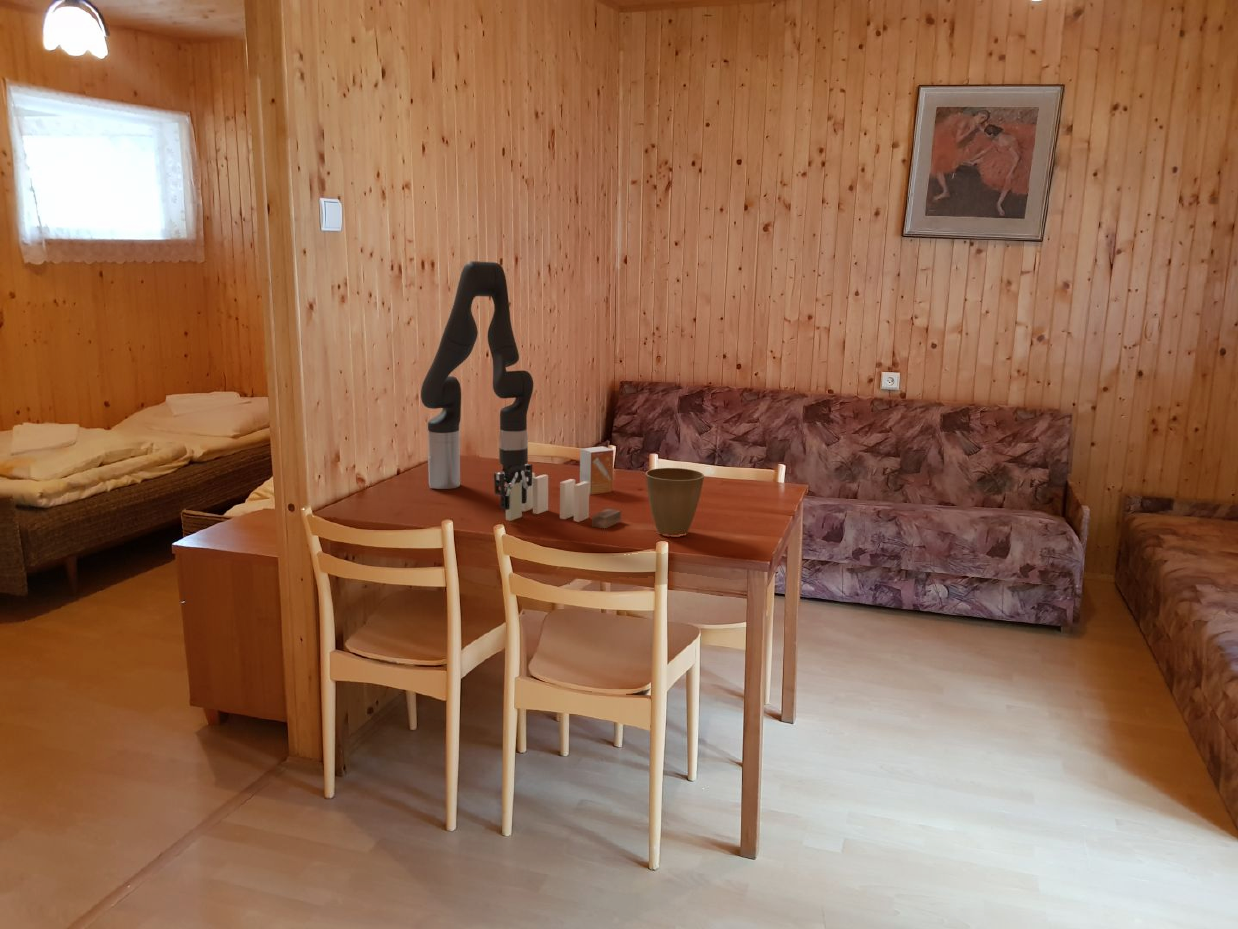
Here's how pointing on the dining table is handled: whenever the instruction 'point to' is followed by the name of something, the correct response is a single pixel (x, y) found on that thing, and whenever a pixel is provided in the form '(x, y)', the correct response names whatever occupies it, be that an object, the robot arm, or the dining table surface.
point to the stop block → (606, 518)
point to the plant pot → (673, 498)
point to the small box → (597, 469)
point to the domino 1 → (515, 502)
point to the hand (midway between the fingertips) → (513, 505)
